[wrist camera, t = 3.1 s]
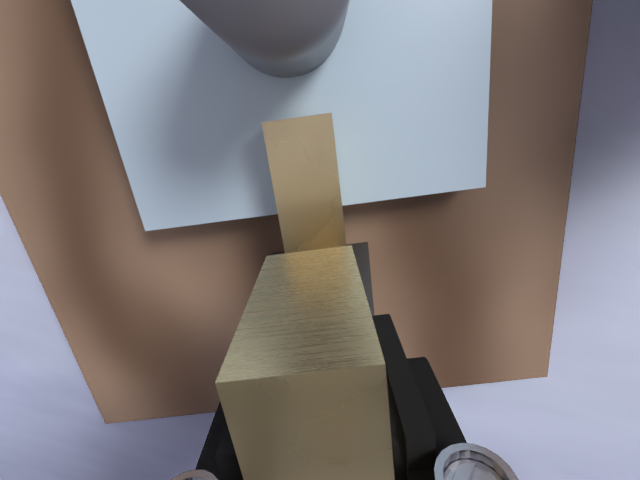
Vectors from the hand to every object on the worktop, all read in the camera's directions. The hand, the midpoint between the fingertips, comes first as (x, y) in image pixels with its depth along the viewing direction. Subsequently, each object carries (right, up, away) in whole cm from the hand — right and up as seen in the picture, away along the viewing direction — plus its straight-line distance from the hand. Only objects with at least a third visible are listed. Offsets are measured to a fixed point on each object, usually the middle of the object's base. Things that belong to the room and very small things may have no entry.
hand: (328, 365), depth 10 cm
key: (0, +3, +4) cm, 5 cm away
